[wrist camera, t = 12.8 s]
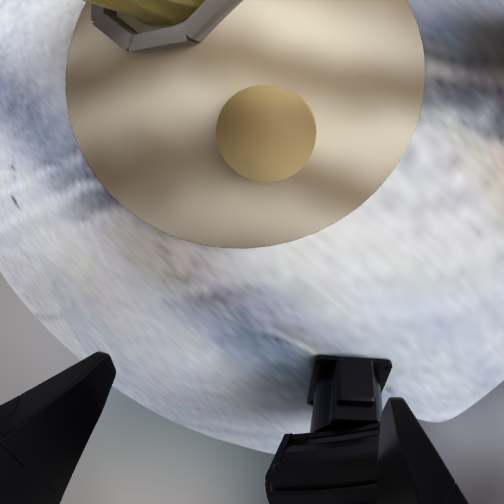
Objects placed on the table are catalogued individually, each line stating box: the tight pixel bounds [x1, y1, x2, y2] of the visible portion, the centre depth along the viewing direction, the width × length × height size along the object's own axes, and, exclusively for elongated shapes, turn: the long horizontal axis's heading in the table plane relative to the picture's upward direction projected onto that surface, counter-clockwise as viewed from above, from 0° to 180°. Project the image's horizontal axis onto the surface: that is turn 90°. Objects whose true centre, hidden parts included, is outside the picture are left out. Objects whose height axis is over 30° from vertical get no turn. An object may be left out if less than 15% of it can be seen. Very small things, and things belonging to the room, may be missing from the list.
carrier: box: [66, 0, 425, 248], centre depth 15 cm, size 23×23×3 cm
